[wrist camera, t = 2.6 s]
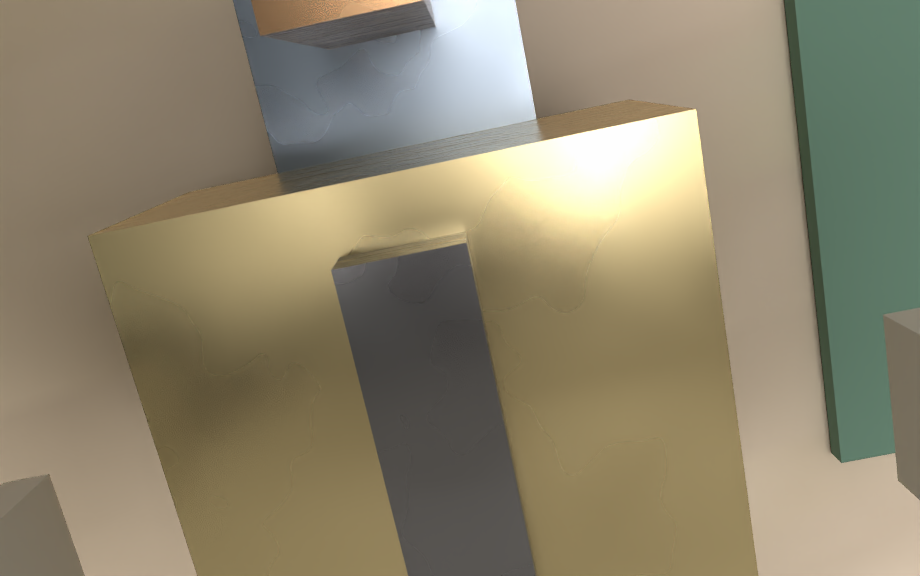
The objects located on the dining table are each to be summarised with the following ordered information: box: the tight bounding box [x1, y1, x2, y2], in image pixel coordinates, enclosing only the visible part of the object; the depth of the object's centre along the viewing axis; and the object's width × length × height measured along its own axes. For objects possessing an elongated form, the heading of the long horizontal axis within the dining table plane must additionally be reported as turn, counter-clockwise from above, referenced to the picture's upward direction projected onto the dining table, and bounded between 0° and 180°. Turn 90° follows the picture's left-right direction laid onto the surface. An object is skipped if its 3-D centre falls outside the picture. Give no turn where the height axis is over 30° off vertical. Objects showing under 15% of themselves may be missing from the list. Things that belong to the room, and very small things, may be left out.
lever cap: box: [88, 100, 758, 576], centre depth 14 cm, size 9×8×5 cm
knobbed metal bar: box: [233, 0, 536, 173], centre depth 16 cm, size 21×5×10 cm, turn 12°
